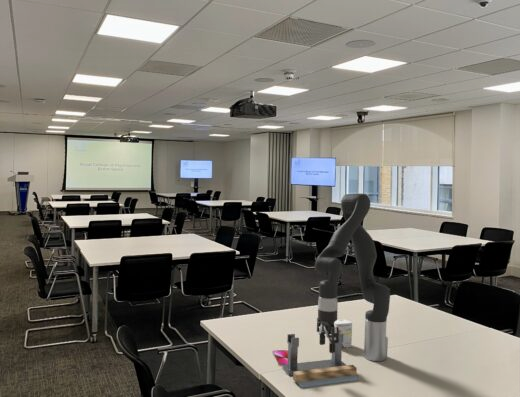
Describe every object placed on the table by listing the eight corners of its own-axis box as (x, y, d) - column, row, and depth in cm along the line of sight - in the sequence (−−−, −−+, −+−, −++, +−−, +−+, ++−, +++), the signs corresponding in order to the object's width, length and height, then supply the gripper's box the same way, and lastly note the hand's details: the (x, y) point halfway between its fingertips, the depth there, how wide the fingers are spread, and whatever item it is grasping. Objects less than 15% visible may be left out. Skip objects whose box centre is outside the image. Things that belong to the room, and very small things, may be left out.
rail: (352, 371, 179) (352, 364, 178) (356, 375, 176) (356, 367, 176) (293, 379, 171) (293, 371, 171) (296, 382, 168) (296, 374, 168)
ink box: (335, 348, 205) (336, 323, 205) (330, 344, 210) (331, 320, 209) (351, 347, 208) (352, 322, 207) (346, 343, 212) (347, 319, 212)
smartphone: (278, 365, 184) (271, 350, 199) (278, 367, 185) (271, 352, 199) (295, 364, 186) (287, 350, 200) (295, 366, 186) (287, 352, 201)
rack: (338, 361, 190) (339, 328, 189) (346, 368, 183) (347, 334, 183) (282, 368, 182) (283, 333, 182) (288, 375, 176) (289, 339, 175)
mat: (347, 371, 181) (347, 369, 181) (357, 380, 173) (357, 378, 173) (292, 377, 174) (292, 375, 174) (301, 387, 166) (301, 385, 166)
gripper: (345, 312, 166) (344, 354, 167) (328, 301, 180) (327, 340, 181) (327, 314, 164) (326, 356, 165) (311, 303, 177) (310, 342, 178)
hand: (327, 348), depth 173 cm, fingers open, 8 cm apart
